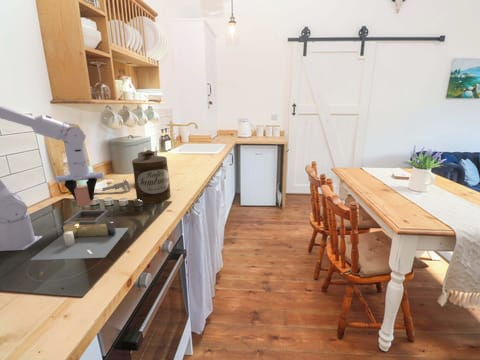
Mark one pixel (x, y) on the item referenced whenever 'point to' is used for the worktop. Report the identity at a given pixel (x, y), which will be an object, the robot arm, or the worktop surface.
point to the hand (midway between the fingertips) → (84, 199)
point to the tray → (89, 216)
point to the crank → (90, 229)
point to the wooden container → (151, 178)
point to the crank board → (80, 246)
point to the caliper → (118, 186)
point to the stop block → (82, 196)
